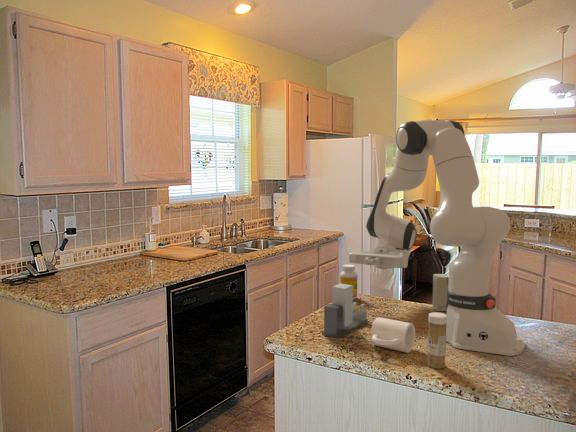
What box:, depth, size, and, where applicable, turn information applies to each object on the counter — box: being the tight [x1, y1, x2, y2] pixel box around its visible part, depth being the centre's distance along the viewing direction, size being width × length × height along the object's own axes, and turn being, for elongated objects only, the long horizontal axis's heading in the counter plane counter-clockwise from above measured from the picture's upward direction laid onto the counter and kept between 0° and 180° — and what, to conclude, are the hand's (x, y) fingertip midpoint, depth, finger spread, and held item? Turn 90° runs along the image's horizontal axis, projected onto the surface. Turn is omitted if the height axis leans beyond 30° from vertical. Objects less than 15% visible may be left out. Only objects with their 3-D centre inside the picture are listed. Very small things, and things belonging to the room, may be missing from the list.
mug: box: [370, 316, 416, 353], centre depth 133 cm, size 12×10×8 cm
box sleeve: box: [331, 282, 354, 327], centre depth 149 cm, size 4×5×12 cm
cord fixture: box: [321, 301, 369, 339], centre depth 151 cm, size 6×19×9 cm, turn 145°
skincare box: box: [432, 273, 449, 312], centre depth 171 cm, size 6×4×12 cm
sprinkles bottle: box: [426, 311, 447, 369], centre depth 122 cm, size 5×5×13 cm
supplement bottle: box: [339, 264, 358, 301], centre depth 186 cm, size 7×7×13 cm
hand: (367, 262), depth 162 cm, fingers closed
